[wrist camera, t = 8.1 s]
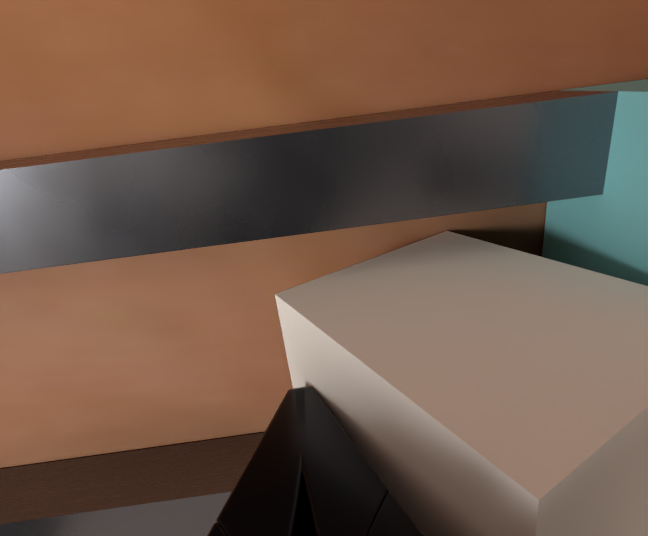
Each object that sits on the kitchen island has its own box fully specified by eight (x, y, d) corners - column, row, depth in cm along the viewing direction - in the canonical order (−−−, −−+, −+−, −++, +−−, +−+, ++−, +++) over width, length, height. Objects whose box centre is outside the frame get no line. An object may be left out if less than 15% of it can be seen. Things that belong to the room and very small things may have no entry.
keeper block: (448, 384, 13) (683, 540, 8) (308, 467, 11) (513, 745, 6) (446, 230, 11) (753, 315, 6) (274, 294, 9) (539, 500, 4)
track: (596, 432, 14) (740, 595, 10) (-262, 553, 14) (-537, 785, 9) (662, 76, 10) (980, 69, 5) (-590, 235, 9) (-1416, 375, 5)
